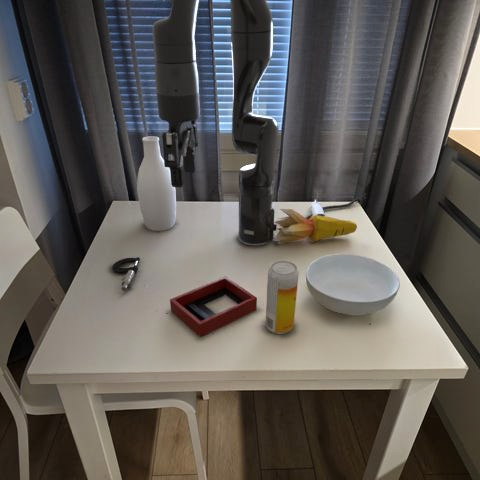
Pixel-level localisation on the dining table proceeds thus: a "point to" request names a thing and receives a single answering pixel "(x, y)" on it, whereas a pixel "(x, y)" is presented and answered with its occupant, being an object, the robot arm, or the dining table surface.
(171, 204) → the bottle
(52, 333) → the dining table surface
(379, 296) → the serving bowl
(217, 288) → the red picture frame
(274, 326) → the lager tin can
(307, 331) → the dining table surface
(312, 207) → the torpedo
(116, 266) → the micrometer
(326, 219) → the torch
